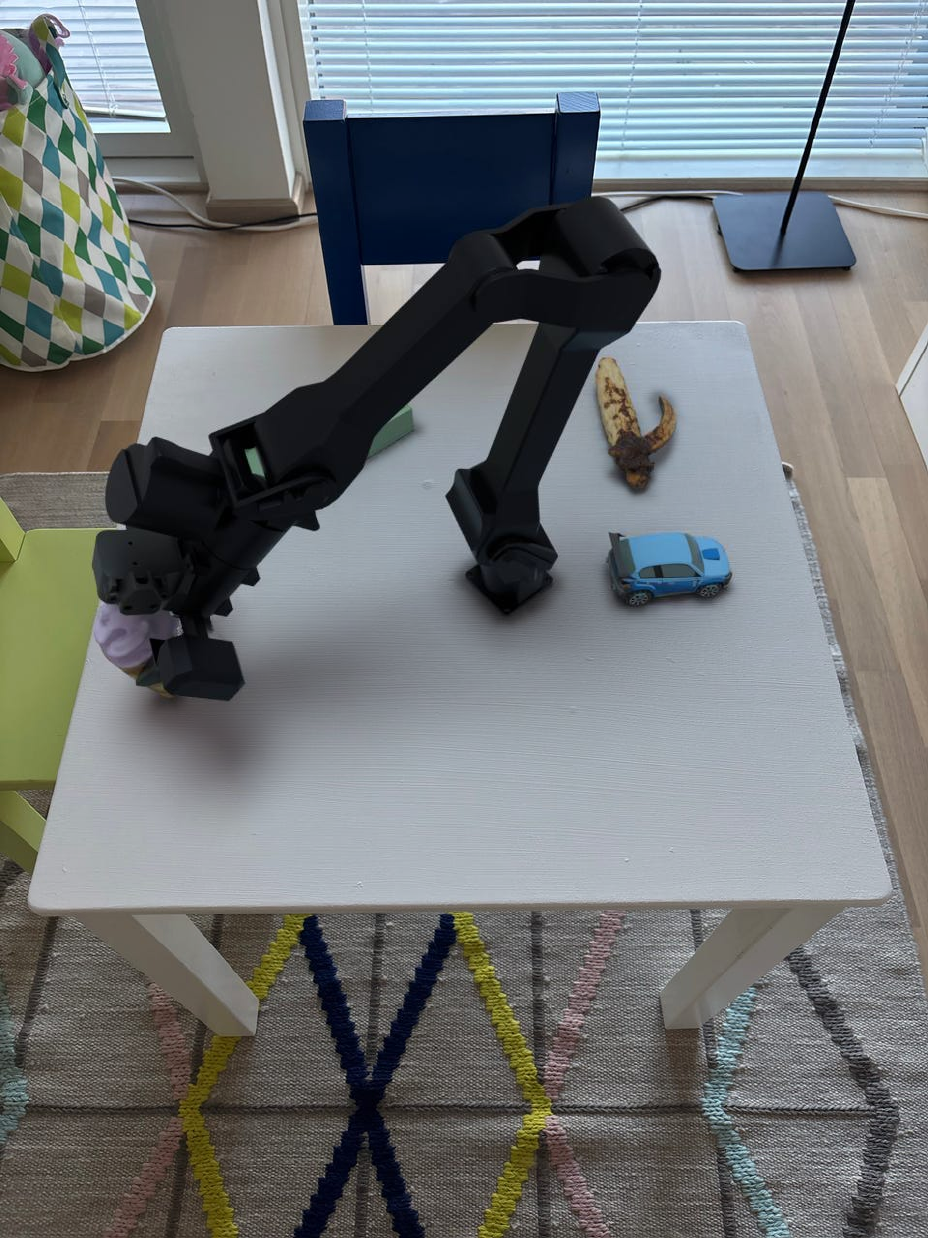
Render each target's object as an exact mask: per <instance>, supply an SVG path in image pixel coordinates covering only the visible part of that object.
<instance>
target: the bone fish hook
mask: <svg viewBox="0 0 928 1238" xmlns="http://www.w3.org/2000/svg"><path fill="white" fill-rule="evenodd" d="M624 377H625V376H623V373H622V370H621V367H620V366H619V365H618V363H617V360H616V359H614V358H613V357H609V356H608V357H604V356H603V357H602V358H601V359H600V360H599V361H598V362H597V370H596V371H595V373H594V379H595V380H594V383H595V388H596V391H597V392H596V393H597V404H598V406H599V410H600V414H601V420H602V426H603V427H604V430H605V434H606V437H607V441H608V443H609V446H610V447H609V448H608V451H607V453H608V455H609V456H610V457H613V458H614V461H615V464H616V465H617V467H618V468H619V470H620V471H621V472H623V473H625V474H626V479H625V481H626V482H627V483H629V485H630V487H632V488H633V489H643V488H647V486H648V484H649V480H650V479H651V474H652V473H653V471H654V469H655V464H656V462H655V461H653V462H652V461H651V460H650V458H649V457H650V456H652V455H653V454H656V453H657V452H659V450H661V449H663V448H664V447H665V446H666V445H667V444H668V443H669V442H670V440H671V438H672V437H673V435H674V433H675V429H676V425H677V414H676V411H675V409H674V407H673V405H672V404H671V403H670V401H668V400H667V399H666V398H665V397H664V396H662V395H659V396H658V402H659V406H660V409H661V413H662V415H661V419H660V422H659V424H658V425H657V426H655V428H653V429H652V430H651V431H648V432H647V433H646V434H644V435H642V433H641V427H640V424H639V421H638V418H637V412H636V410H635V408H634V405H633V402H632V399H631V397H630V394H629V391H628V387H627V384H626V380H625V378H624Z"/></svg>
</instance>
